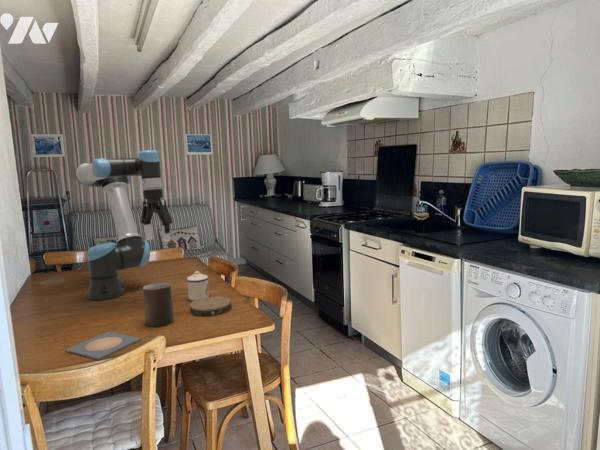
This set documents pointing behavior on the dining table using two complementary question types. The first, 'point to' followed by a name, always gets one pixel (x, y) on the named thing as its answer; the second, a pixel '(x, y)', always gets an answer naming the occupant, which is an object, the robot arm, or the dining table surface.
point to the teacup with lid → (197, 286)
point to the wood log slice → (210, 306)
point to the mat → (103, 345)
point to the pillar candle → (158, 304)
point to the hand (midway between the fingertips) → (158, 240)
